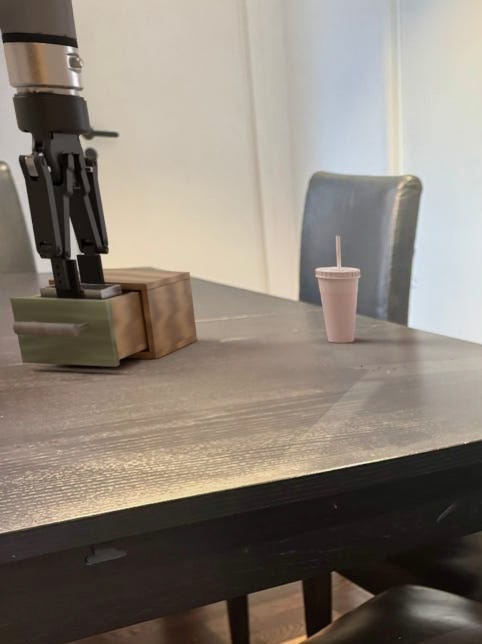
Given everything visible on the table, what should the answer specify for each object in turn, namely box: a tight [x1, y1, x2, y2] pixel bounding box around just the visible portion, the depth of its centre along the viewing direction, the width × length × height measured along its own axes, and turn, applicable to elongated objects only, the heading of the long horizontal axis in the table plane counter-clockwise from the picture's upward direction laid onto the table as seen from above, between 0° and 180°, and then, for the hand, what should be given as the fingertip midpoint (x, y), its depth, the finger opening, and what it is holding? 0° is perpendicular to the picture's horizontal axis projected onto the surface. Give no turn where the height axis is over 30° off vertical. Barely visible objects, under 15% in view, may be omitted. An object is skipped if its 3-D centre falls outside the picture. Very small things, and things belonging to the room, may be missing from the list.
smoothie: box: [314, 235, 362, 344], centre depth 129 cm, size 6×6×14 cm
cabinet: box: [47, 268, 198, 360], centre depth 121 cm, size 15×13×9 cm
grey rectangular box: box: [38, 283, 122, 300], centre depth 110 cm, size 8×6×4 cm
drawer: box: [9, 289, 149, 368], centre depth 110 cm, size 18×11×7 cm, turn 175°
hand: (85, 314), depth 111 cm, fingers closed on grey rectangular box, 5 cm apart
